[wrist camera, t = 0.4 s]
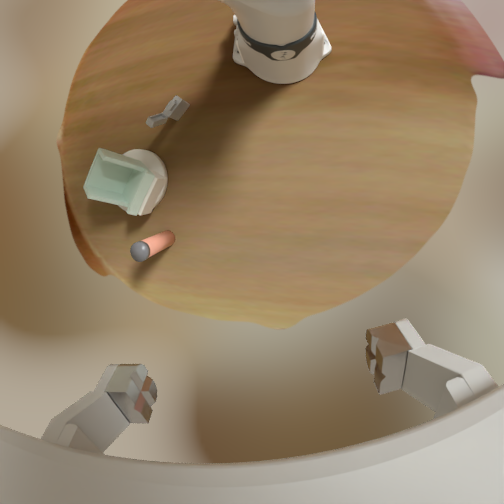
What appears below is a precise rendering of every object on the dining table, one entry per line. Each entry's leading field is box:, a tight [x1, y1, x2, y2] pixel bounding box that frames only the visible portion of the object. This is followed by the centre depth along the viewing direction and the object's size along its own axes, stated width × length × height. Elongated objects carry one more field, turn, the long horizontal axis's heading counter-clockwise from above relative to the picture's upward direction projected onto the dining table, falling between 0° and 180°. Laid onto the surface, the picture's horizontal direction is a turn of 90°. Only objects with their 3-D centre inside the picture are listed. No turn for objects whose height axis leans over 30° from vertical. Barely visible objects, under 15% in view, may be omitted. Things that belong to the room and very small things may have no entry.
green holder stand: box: [83, 148, 168, 216], centre depth 50 cm, size 13×13×12 cm
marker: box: [130, 230, 175, 262], centre depth 52 cm, size 3×3×12 cm
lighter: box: [146, 96, 190, 128], centre depth 48 cm, size 7×2×8 cm, turn 141°
